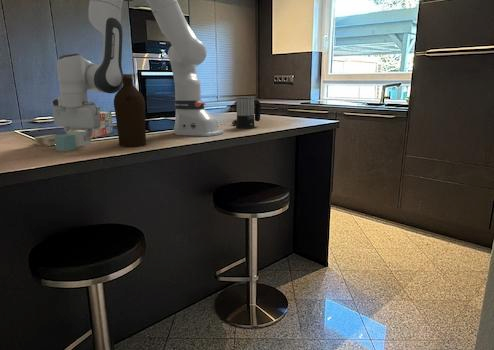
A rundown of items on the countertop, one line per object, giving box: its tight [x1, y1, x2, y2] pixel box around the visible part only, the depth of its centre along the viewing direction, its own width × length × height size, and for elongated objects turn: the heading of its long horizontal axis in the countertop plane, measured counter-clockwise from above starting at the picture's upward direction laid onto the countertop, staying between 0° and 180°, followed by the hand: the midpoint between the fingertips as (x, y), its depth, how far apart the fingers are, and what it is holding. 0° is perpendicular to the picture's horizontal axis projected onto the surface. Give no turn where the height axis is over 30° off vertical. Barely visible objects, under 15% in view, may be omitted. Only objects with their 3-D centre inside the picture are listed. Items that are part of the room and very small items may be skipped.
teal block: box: [54, 133, 78, 152], centre depth 125 cm, size 4×4×5 cm
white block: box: [66, 130, 92, 147], centre depth 134 cm, size 6×6×5 cm
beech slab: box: [34, 133, 58, 147], centre depth 137 cm, size 8×8×3 cm
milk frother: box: [231, 96, 262, 130], centre depth 182 cm, size 14×16×15 cm
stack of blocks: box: [71, 105, 114, 139], centre depth 154 cm, size 21×6×12 cm, turn 171°
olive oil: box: [113, 73, 147, 148], centre depth 131 cm, size 11×11×25 cm
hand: (79, 139), depth 134 cm, fingers open, 7 cm apart
